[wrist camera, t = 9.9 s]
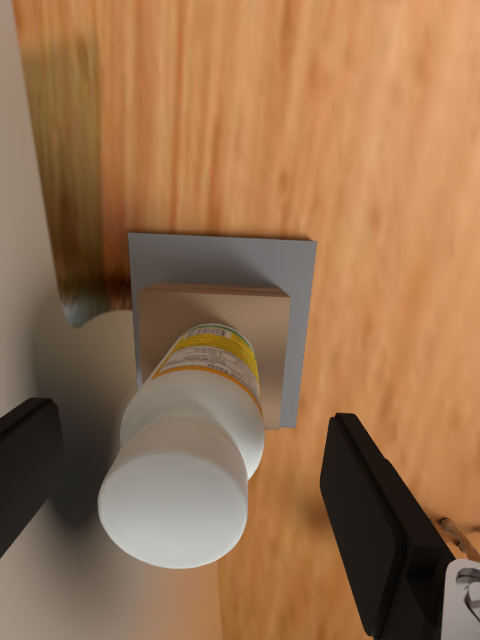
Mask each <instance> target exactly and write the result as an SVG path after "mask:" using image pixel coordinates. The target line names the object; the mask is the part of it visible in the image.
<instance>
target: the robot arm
mask: <svg viewBox="0 0 480 640" xmlns="http://www.w3.org/2000/svg"><path fill="white" fill-rule="evenodd" d="M67 469H68V465H67V459H66V453H65V447H64V441H63V435H62V430H61V424H60V418H59V412H58V407H57V405H56V404H55V403H54V402H53V400H52V399H50V398H35V397H34V398H29V399H27V400H26V401H24V402H23V403H22V404H20V405H19V406H17V407H16V408H14V409H13V410H11V411H10V412H8V413H7V414H6V415H4V416H3V417H1V418H0V558H1V557H2V556H3V555H4V553H5V552H6V551H7V550H8V548H9V547H10V546H11V544H12V543H13V542H14V541H15V539H16V538H17V537H18V536H19V534H20V533H21V532H22V531H23V529H24V528H25V527H26V525H27V524H28V523H29V522H30V520H31V519H32V518H33V517H34V515H35V514H36V513H37V512H38V510H39V509H40V508H41V506H42V505H43V504H44V503H45V501H46V500H47V499H48V498H49V496H50V495H51V494H52V493H53V491H54V490H55V489H56V487H57V486H58V485H59V484H60V482H61V481H62V480H63V478H64V477H65V475H66V473H67ZM320 489H321V493H322V497H323V500H324V503H325V506H326V509H327V513H328V516H329V519H330V522H331V525H332V529H333V532H334V535H335V538H336V541H337V545H338V548H339V551H340V554H341V558H342V561H343V564H344V567H345V570H346V574H347V577H348V580H349V583H350V586H351V590H352V593H353V596H354V599H355V602H356V606H357V609H358V612H359V615H360V618H361V622H362V625H363V627H364V630H365V632H366V634H367V635H368V636H373V638H374V640H480V563H478V562H474V561H471V560H467V559H456V558H455V557H454V555H453V554H452V552H451V551H450V549H449V548H448V546H447V545H446V544H445V542H444V541H443V539H442V538H441V536H440V535H439V533H438V532H437V530H436V529H435V527H434V526H433V524H432V523H431V521H430V520H429V518H428V517H427V516H426V514H425V513H424V511H423V510H422V508H421V507H420V505H419V504H418V502H417V501H416V499H415V498H414V496H413V495H412V493H411V492H410V490H409V489H408V488H407V486H406V485H405V483H404V482H403V480H402V479H401V477H400V476H399V474H398V473H397V471H396V470H395V468H394V467H393V465H392V464H391V463H390V462H389V461H388V460H387V459H385V458H384V457H383V455H382V454H381V452H380V451H379V449H378V447H377V446H376V444H375V443H374V441H373V440H372V438H371V437H370V435H369V434H368V432H367V431H366V429H365V428H364V426H363V425H362V423H361V422H360V420H359V419H358V417H357V416H356V415H355V414H351V413H336V415H335V417H331V418H330V420H329V426H328V432H327V439H326V445H325V451H324V457H323V463H322V469H321V475H320Z"/></svg>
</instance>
